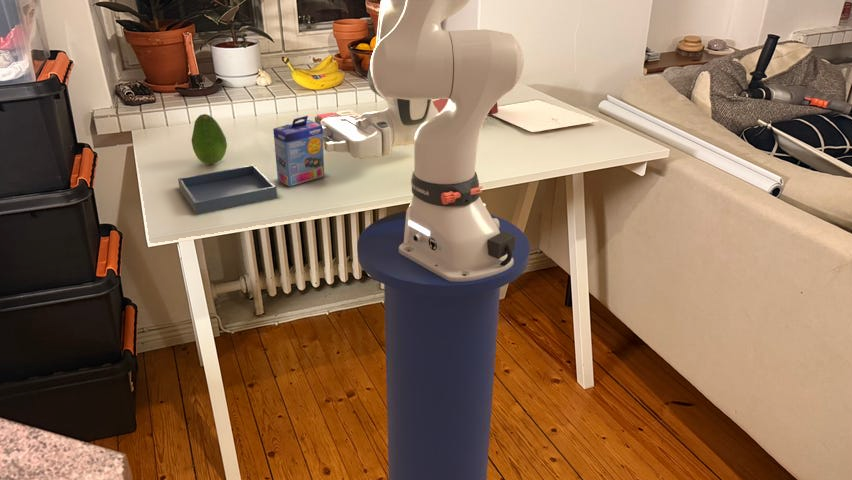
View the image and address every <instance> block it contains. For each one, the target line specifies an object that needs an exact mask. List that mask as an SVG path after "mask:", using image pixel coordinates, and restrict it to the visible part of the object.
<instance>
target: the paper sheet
mask: <svg viewBox="0 0 852 480" xmlns="http://www.w3.org/2000/svg"><path fill="white" fill-rule="evenodd" d="M488 114H489V115H491V116H493V117H496V118H498V119H501V120H503V121H506V122H507V123H510V124H512V125H514V126H517V127H519V128H521V129H524V130H526V131H528V132H531V133H536V132H542V131H548V130H549V131H550V130H555V129H561V128H567V127H571V126H573V127H574V126H578V125H584V124H590V123H597V122H599V119H595V118H592V117H590V116H586V115H583V114H581V113H578V112H575V111H572V110H569V109H566V108H563V107H560V106H558V105H554V104H552V103H549V102H545V101H542V100H540V99H535V100H530V101H523V102H517V103H512V104H506V105H500V106H498V113H495V114H490V113H488Z"/></svg>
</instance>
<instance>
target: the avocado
mask: <svg viewBox="0 0 852 480" xmlns="http://www.w3.org/2000/svg"><path fill="white" fill-rule="evenodd" d="M191 145H192V150H193V152H194V154H195V156H196V158H197V159H198V161H200V162H201V163H203V164H204V165H213V164H216V163H219V162H220V161H222V159H223V158H224V157H225V155H226V152H227V148H228V141H227V137H226V135H225V133H224V131H223V129H222V128H221V126H220V124H219V122H217V120H216V119H215V118H214V117H213V116H212V115H210V114H207V113H203V114H200V115H199V116H198V117H197V118H196V119H195V121H194V125H193V131H192V136H191Z"/></svg>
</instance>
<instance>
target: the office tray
mask: <svg viewBox="0 0 852 480" xmlns="http://www.w3.org/2000/svg"><path fill="white" fill-rule="evenodd" d="M177 182H178V188H179V191H180V192H181V194H182V195H183V197H184V198H185V200H186V201H187V203H188V204H189V206H190V207H191V208H192V210H193V211H194V213H195V214H196V215H200V214H205V213H210V212H216V211H220V210H225V209H230V208H235V207H239V206H245V205H248V204H254V203H259V202H263V201H268V200H273V199H278V190H277V186H276V185H275V184H274V183H273V182H272V181H271V180H270V179H269V178H268V177H267V176H266V175H265V174H264V173H263V172H262V171H261V170H260V169H259V168H258V167H257V166H256V165H255V164H250V165H246V166H240V167H234V168H230V169H223V170H219V171H218V170H217V171H212V172H207V173H202V174H195V175H191V176H184V177H180V178H179V177H178V178H177Z"/></svg>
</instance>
